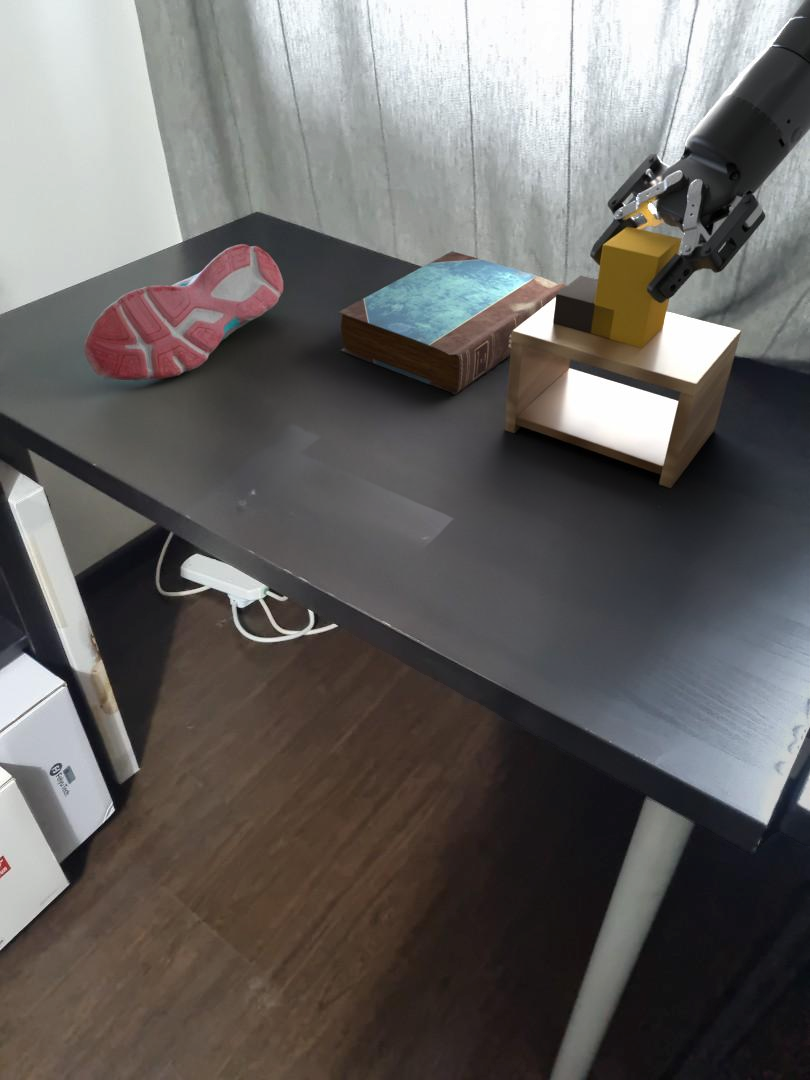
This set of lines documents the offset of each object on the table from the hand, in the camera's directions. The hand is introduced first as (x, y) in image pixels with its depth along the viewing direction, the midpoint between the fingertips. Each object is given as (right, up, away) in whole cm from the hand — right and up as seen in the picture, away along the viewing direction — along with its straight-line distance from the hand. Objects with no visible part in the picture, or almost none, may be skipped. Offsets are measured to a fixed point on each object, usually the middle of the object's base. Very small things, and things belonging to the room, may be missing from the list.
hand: (623, 278), depth 74 cm
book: (-14, +2, +28) cm, 31 cm away
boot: (0, -3, +5) cm, 6 cm away
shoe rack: (+1, -12, +11) cm, 17 cm away
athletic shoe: (-45, 0, +26) cm, 52 cm away
